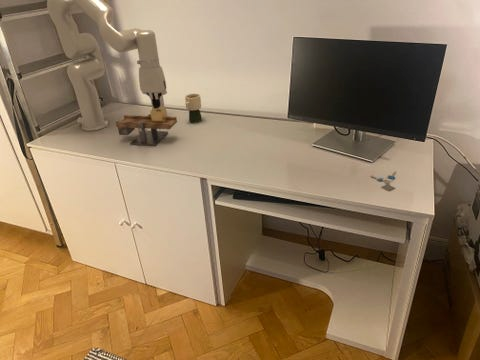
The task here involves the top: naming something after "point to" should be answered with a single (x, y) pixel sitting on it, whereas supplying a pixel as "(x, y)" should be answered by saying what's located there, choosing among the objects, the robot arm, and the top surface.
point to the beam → (131, 122)
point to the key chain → (387, 186)
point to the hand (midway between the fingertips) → (157, 107)
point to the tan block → (159, 115)
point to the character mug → (193, 107)
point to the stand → (148, 136)
